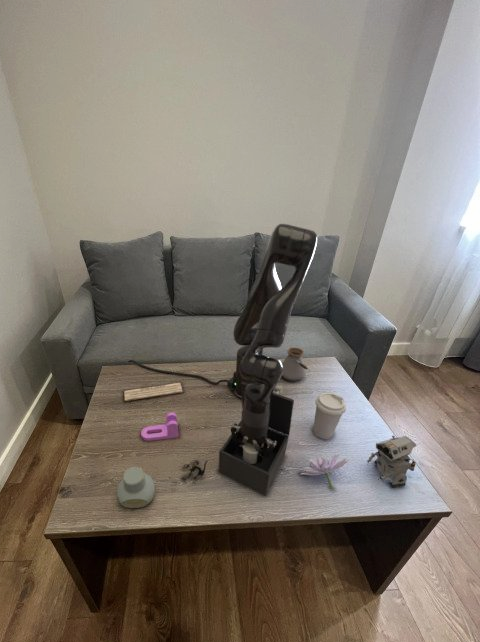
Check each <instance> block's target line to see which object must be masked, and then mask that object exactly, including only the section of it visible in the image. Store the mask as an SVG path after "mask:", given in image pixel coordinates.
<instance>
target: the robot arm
mask: <svg viewBox="0 0 480 642" xmlns="http://www.w3.org/2000/svg"><path fill="white" fill-rule="evenodd" d="M317 244H318V234H317V232H316V231H314V230H311V229H309V228H304V227H301V226H296V225H292V224H288V223H279V224H277V225H276V226H275V227H274V229H273V230H272V232H271V234H270V237H269V240H268V242H267V246H266V249H265V252H264V256H263V259H262V261H261V265H260V268H259V271H258V273H257V275H256V278H255V280H254V282H253V285H252V286H251V289H250V291H249V294H248V297H247V300H246V303H245V305H244V307H243V310H242V312H241V313H240V315H239V317H238V318H237V320H236V322H235V324H234V328H233V340H234V341H235V343H236V344H237V345H238V346H241V347H239V348H238V349H237V351H236V360H235V361H236V362H235V371H234V372H233V374H232V377H230V378H229V379H220V380H218V381H212V380H210V379H208V378H207V377H205V376H202V375H200V374H199V375H198V374H192V373H186V372H185V373H184V372H176V371H170V370H163V369H157V368H153V367H151V366H147V365H144V364H141V363H139V362H137V361H136V360H133V359H129V360H128V361H127V363H134V364H135V365H137V366H139V367H142V368H145V369H147V370H150V371H154V372H157V373H164V374H168V375H169V374H170V375H177V376H186V377H193V378H199V379H202V380H204V381H206V382H207V383H209V384H211V385H219V384H220V383H226V387H227V388H228V389H230V390H232V392H233V393H234V395H235V396H236V397H237V398H239V399H241V400H242V392H241V383H242V382H245V383H248V384H249V385H247V387H246V389H245V394H244V404H243V408H242V407H241V413H240V414H241V419H240V421H241V427H240V426H238V423H233V425H232V426H231V428H230V435H231V434H232V439H233V442H234V443H235V444H238V446H239V453H240V455H241V456H243V447H242V445H244V444H245V443H246V442H247V443H250V444H252V445H254V446H255V449H256V451H257V452H258V455H257V463H258V464H259V463H261V462H262V461H263V458H264V457H265V458H268V457H269V455H270V454H271V452H272V451H273V449H274V447H275V445H276V444H277V441H276V440H273V441H272V440H270V439H268V436H267V430H268V424H269V417H270V404H271V398H272V394H273V393H274V392H275V391H274V389H275V387H276V385H278V384H279V382H280V380H281V379H282V377H283V376H282V374H283V365H282V363H283V362H282V361H281V360H280V359H278V358H276V357H273V356H268V355H265V354H263V352H264V349H267V348H271V349H272V348H274V349H275V348H276V349H277V348H281V347H282V346H283V344H284V341H285V337H286V333H287V329H288V327H289V326H288V325H289V322H290V318H291V314H292V311H293V309H294V306H295V303H296V301H297V299H298V296H299V294H300V291H301V289H302V286H303V284H304V282H305V279H306V277H307V273H308V271H309V269H310V266H311V264H312V261H313V259H314V255H315V252H316V248H317ZM276 264H280V265H285V266H288V267H291V268H293V271H292V273H291V276H290V278H289V279H288V281H286V283H285V284H284V285H283V286H282V283H281V281H280V278H279V275H278V272H277V268H276ZM239 432H240V433H241V435H242V437H243V439H240V434H239ZM264 443H267V446H268V447H267V448H268V449H267V450H265V448H264Z"/></svg>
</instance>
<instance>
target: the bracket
mask: <svg viewBox="0 0 480 642" xmlns="http://www.w3.org/2000/svg"><path fill="white" fill-rule="evenodd" d="M165 420H166V423H164V424H158V425H157V424H156V425H149V426H145V427H144V428H142V429H141V432H140V435H141V439H142V440H144V441H146V442H151V441H159V440H167V439H174V438H180V434H179V425H178V418H177V413H175V412H173V411H171V412H168V413H167V414H166V415H165Z"/></svg>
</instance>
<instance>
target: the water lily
mask: <svg viewBox="0 0 480 642" xmlns="http://www.w3.org/2000/svg"><path fill="white" fill-rule="evenodd" d="M339 458H340V455H339V454H337V455H336V454H335V455H333V456H332V457H331V459H330V460H329V462H328V460H326V459H324V457H322V456H318V459H317V458H311V459H310V458H309V461H310V462H309V465H310V466H307V467H304V472H301V473H300V475H304V476H319V475H324V474H325V476H326V478H327V479H326V480H327V482H328V485H329V488H330V489H333V485H332V481H331V478H330V476H329V473H331V472H334V471H336V470H339V469H340V468H342V467H343V466H344V465H346V464H347V463H348V462H349V461H350V459H347V458H344V459H342V460H340V461H338V460H339Z"/></svg>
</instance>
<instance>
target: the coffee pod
mask: <svg viewBox="0 0 480 642" xmlns="http://www.w3.org/2000/svg"><path fill="white" fill-rule="evenodd" d="M242 447H243V459H244V461H246V462H248V463H250V464H254V463H256V462H257V455H258V452H257V451H256V449H255V446H254V445H252V444H250V443H247V442H246V443H245V444H244V445H242Z"/></svg>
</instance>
